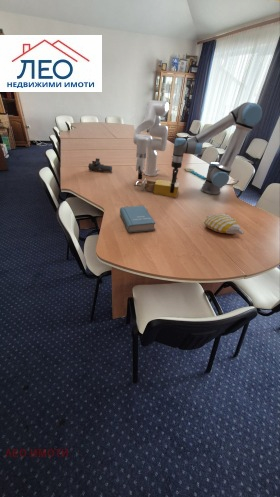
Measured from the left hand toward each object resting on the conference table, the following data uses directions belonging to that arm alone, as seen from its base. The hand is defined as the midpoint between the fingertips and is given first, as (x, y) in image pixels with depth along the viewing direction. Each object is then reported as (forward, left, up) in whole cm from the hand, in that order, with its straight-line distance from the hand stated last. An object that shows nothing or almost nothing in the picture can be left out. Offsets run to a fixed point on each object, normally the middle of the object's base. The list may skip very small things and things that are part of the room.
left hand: (140, 179), depth 177 cm
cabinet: (-14, +17, -8) cm, 24 cm away
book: (+35, +43, -8) cm, 56 cm away
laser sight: (+7, -54, -8) cm, 55 cm away
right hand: (-17, +21, -5) cm, 28 cm away
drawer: (-5, +7, -7) cm, 11 cm away
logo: (-75, -5, -8) cm, 76 cm away
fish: (-5, +79, -8) cm, 79 cm away
